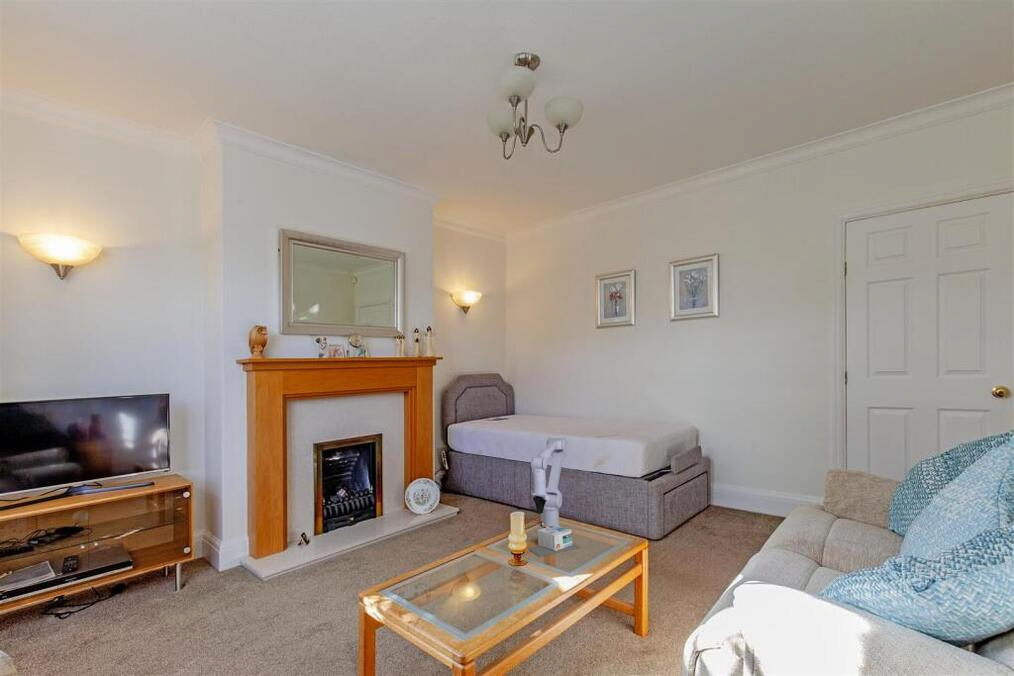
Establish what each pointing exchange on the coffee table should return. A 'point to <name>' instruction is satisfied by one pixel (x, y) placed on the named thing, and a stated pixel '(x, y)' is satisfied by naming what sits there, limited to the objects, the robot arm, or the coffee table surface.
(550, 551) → the mat
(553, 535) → the light bulb box
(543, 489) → the robot arm
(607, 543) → the coffee table surface
